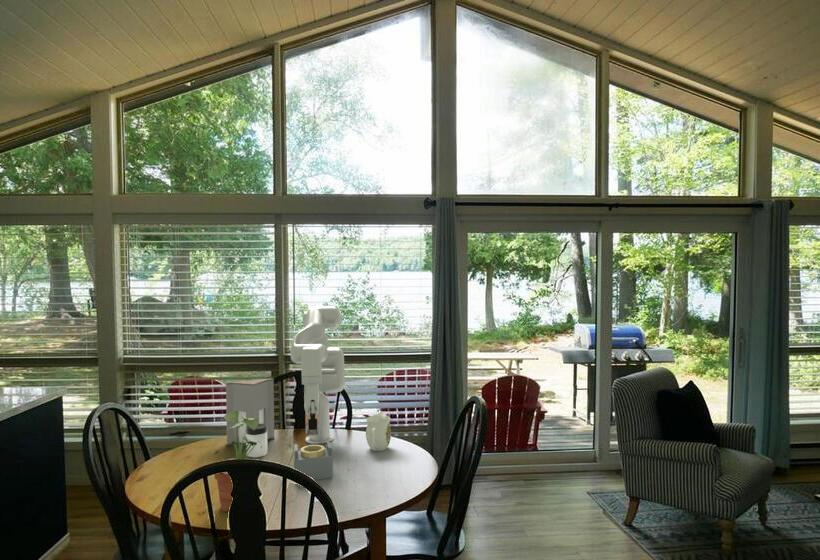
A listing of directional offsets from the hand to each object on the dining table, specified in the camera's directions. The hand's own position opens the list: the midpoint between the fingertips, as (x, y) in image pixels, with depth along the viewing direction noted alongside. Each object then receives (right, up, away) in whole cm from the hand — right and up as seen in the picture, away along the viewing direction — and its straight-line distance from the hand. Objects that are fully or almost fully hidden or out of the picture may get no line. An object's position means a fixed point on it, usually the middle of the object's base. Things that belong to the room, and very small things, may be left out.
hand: (312, 426), depth 196 cm
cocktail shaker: (0, -2, 0) cm, 2 cm away
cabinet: (-35, -19, +38) cm, 55 cm away
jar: (-28, -19, +24) cm, 42 cm away
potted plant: (-19, -19, -25) cm, 37 cm away
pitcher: (+23, -18, +28) cm, 41 cm away
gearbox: (0, -18, 0) cm, 18 cm away
